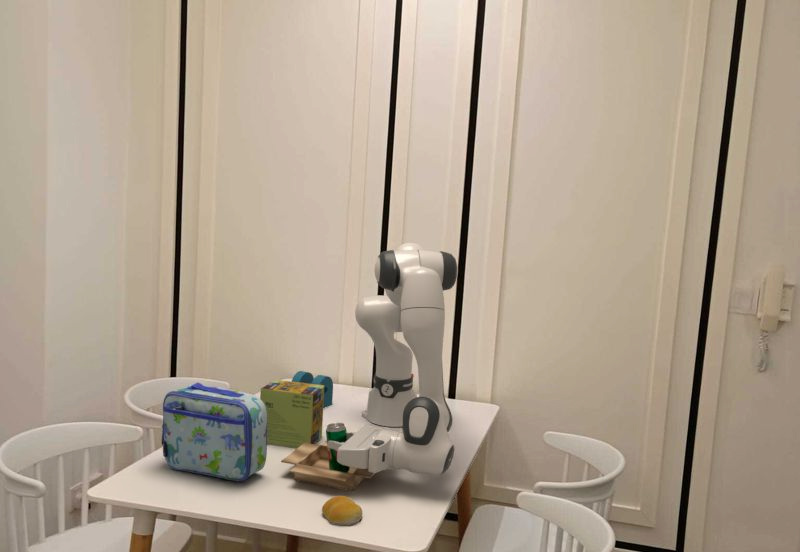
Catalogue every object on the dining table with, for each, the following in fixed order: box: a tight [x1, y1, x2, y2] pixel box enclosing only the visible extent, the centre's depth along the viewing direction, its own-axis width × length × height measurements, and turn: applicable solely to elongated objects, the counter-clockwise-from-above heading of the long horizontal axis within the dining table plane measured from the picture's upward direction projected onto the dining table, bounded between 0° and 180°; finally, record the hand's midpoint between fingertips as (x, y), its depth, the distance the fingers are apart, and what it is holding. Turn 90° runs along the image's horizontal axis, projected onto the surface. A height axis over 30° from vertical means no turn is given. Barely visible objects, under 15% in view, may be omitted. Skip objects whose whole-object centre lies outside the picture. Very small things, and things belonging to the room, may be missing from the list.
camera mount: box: [291, 370, 334, 409], centre depth 230 cm, size 18×10×10 cm, turn 152°
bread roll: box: [321, 495, 363, 526], centre depth 157 cm, size 8×9×4 cm
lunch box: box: [161, 382, 268, 482], centre depth 176 cm, size 26×11×21 cm, turn 68°
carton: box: [280, 439, 376, 492], centre depth 179 cm, size 23×23×4 cm
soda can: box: [325, 422, 350, 473], centre depth 179 cm, size 5×5×12 cm
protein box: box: [259, 379, 324, 449], centre depth 201 cm, size 10×15×16 cm
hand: (333, 439), depth 179 cm, fingers closed on soda can, 5 cm apart
